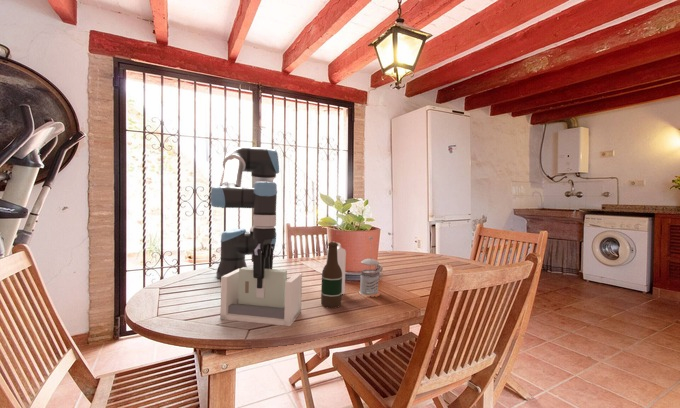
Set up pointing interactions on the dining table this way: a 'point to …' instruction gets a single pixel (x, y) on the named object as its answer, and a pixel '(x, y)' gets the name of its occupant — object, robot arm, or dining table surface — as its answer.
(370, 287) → the french press
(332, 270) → the beer bottle
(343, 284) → the milk
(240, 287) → the door panel
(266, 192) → the robot arm
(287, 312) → the cabinet base
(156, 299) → the dining table surface
